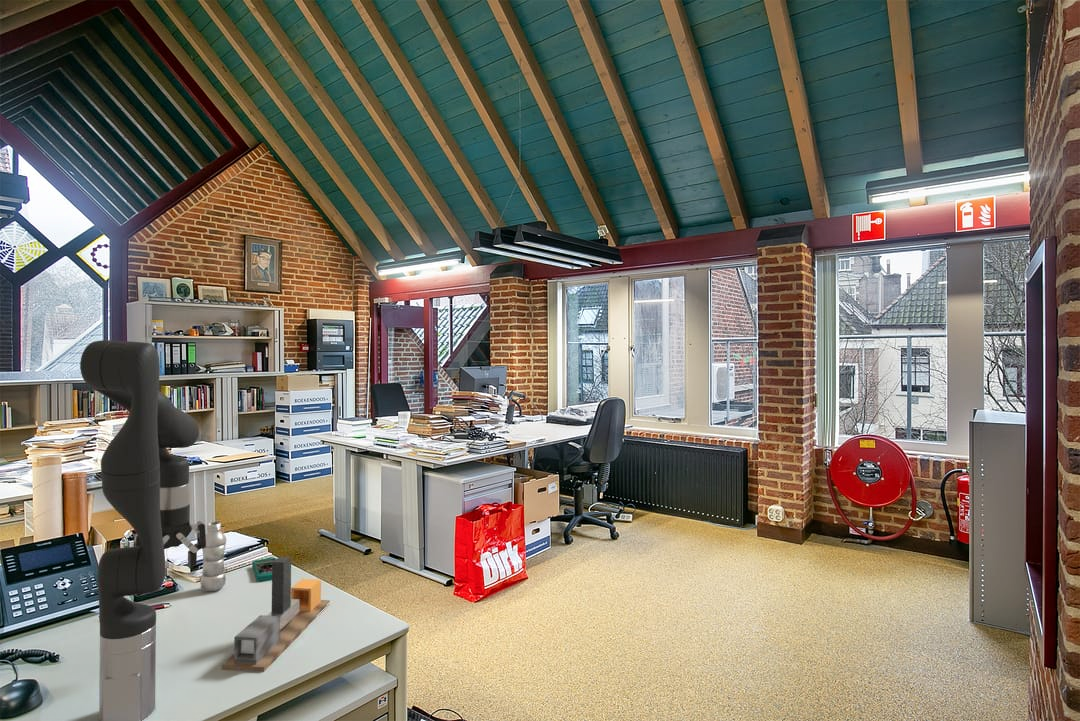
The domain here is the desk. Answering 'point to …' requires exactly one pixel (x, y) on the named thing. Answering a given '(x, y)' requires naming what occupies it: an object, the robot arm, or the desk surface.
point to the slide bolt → (278, 598)
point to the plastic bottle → (213, 558)
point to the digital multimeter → (263, 569)
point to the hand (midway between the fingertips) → (170, 572)
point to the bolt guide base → (269, 639)
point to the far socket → (307, 593)
